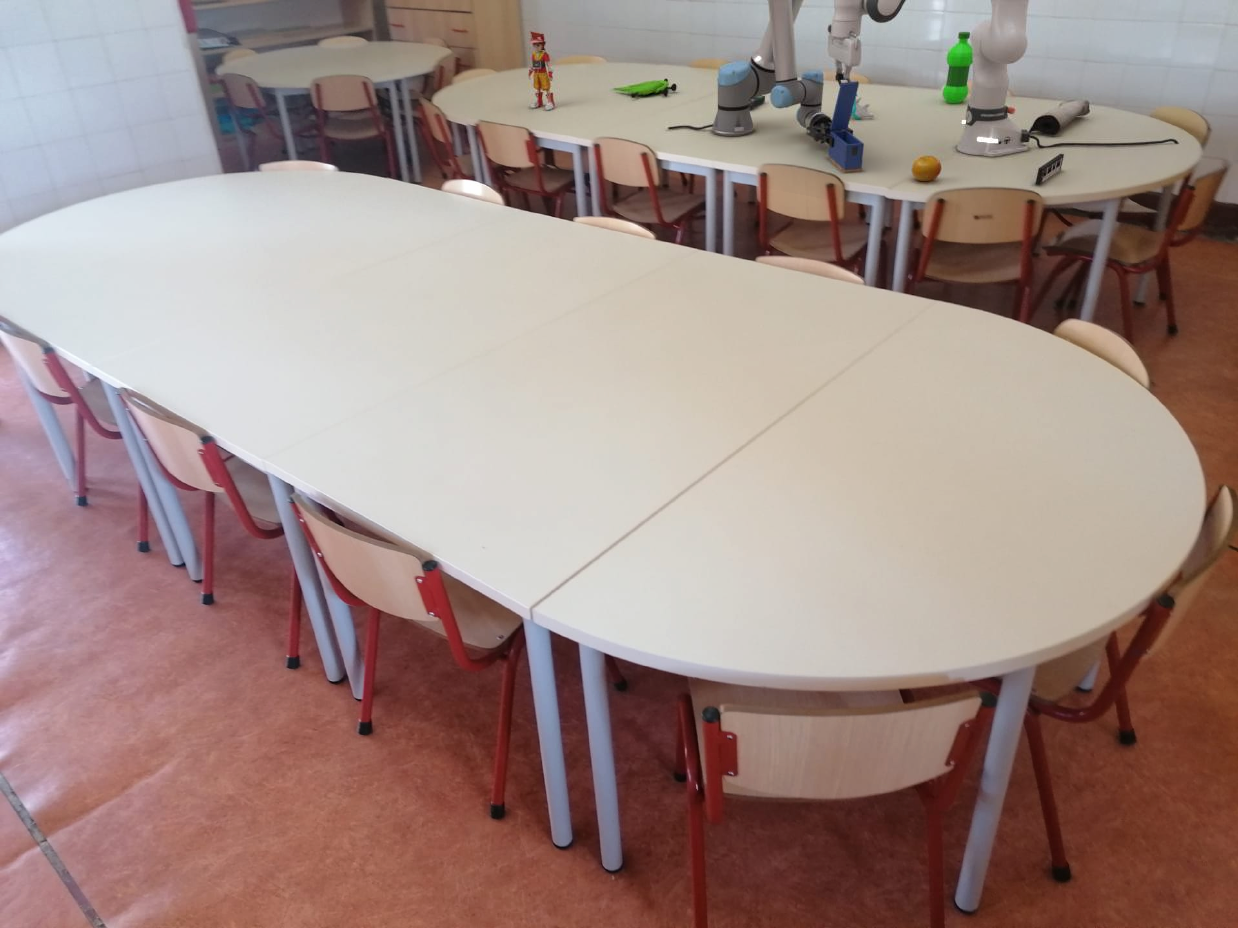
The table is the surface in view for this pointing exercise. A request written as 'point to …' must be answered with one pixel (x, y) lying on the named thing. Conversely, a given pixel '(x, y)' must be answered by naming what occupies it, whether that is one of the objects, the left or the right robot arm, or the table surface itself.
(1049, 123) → the rolled mat
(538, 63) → the toy
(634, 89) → the toy
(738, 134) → the left robot arm
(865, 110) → the anatomical model
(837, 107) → the lid
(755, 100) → the disk drive
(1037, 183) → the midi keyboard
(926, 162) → the fruit
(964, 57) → the plastic bottle
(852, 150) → the chest
